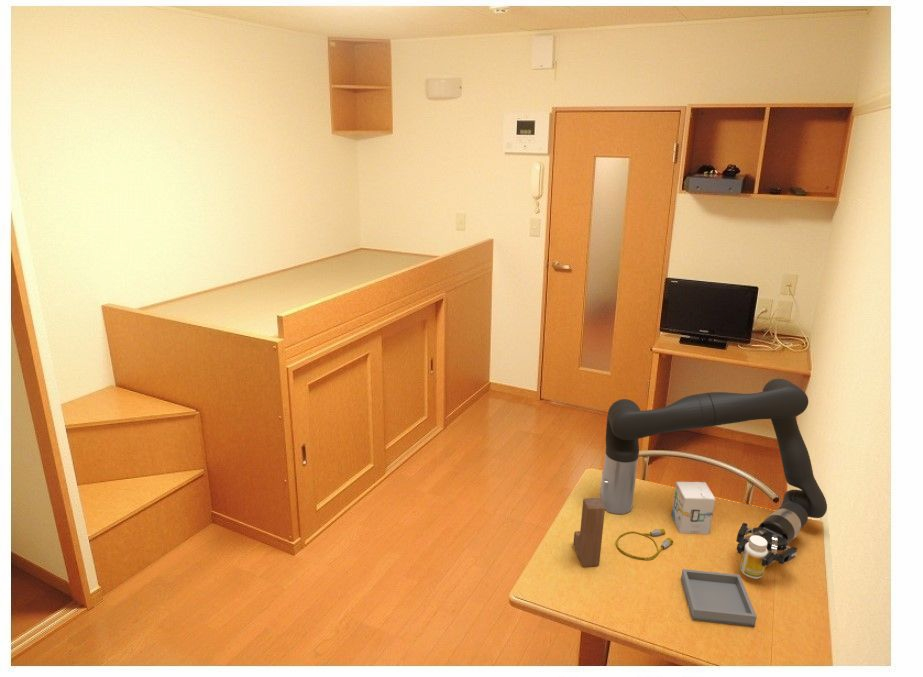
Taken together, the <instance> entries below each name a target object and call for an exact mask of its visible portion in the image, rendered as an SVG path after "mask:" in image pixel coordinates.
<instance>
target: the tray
mask: <svg viewBox="0 0 923 677" xmlns="http://www.w3.org/2000/svg"><path fill="white" fill-rule="evenodd" d="M681 570H682V571H681V577H680V581H681V584H682V588H683V591H684V595H685V599H686V602H687V607H688V606H689V607H688V609H689V614H690V617H691V620H692V621H697V622H707V623H714V624H715V623H716V624H723V625H731V626H732V625H733V626H742V627H750V628H755V627H756V622H757V619H758V618H757V617H758V616H757V615H756V612H755V608H754V607H753V605H752V601H751V599H750V596H749V594H748V592H747V590H746V587H745V584H744V582H743V579H742V578H741V574H735V573H725V572H717V571H716V572H715V571H705V570H696V569H685V568H682V569H681Z"/></svg>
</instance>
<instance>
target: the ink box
mask: <svg viewBox="0 0 923 677" xmlns="http://www.w3.org/2000/svg"><path fill="white" fill-rule="evenodd" d="M675 482H676V483H675V489H674V493H673V494H674V496H673V501H672V509H671V517H672V519H673V521H674V524H675V526H676V528H677V530H678V533H679V534H696V533H697V534H698V535H699V534H700V535H703V534H704V535H709V534H710V532H711V527H712V526H711V525H712V521H713V514H714V511H715V504H716V497H715V496H714V494H713V493H712V491H711V489H710V487H709V486H708V484H707V483H706V482H705V481H680V480H679V481H675Z"/></svg>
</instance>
